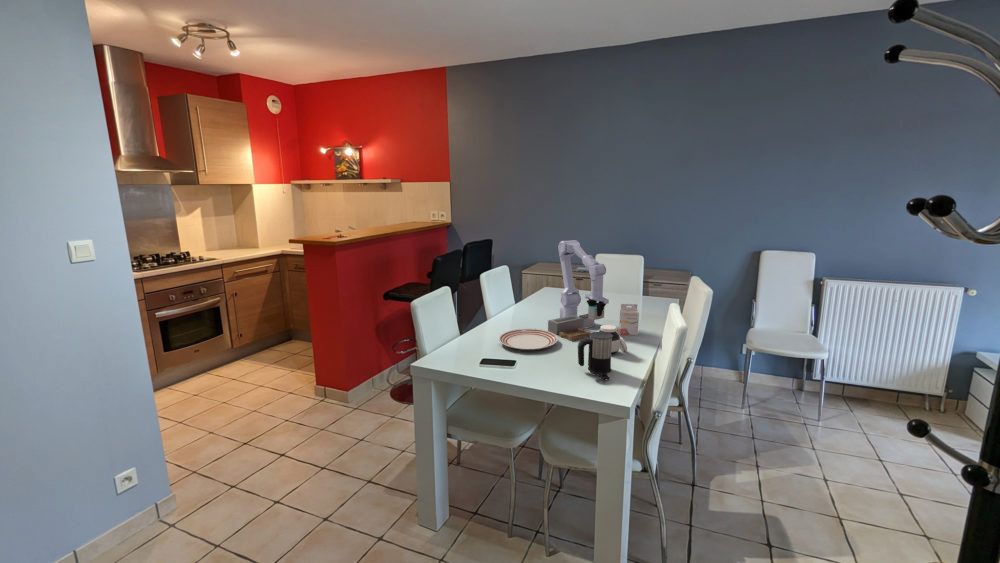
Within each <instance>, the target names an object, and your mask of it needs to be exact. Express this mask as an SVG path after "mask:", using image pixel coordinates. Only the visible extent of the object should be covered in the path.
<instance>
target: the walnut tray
mask: <svg viewBox="0 0 1000 563" xmlns="http://www.w3.org/2000/svg"><path fill="white" fill-rule="evenodd" d="M590 333H591V332H590V331H587V330H585V329H584V328H583V329H580V328H574V329H570V330H566V331H561V332H559V335H558V337H561V338H562V339H565V340H568V341H570V342H574V341H577V340H582V339H585V338H586V337H587V338H590V335H589V334H590Z"/></svg>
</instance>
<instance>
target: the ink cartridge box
mask: <svg viewBox="0 0 1000 563" xmlns="http://www.w3.org/2000/svg"><path fill="white" fill-rule="evenodd" d="M619 310H620V311H619V326H618V327H619V328H618V333H619V335H620V336H622V335H624V336H625V335H626V336H638V335H639V334H638V333H639V332H638V331H639V323H640V322H639V321H640V320H639V318H640V311H638V304H636V303H621V304H620V309H619Z"/></svg>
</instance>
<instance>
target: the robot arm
mask: <svg viewBox="0 0 1000 563" xmlns="http://www.w3.org/2000/svg"><path fill="white" fill-rule="evenodd" d="M557 247H558V248H557V249H558V250H557V251H558V255H559V260H560V266H561V273H562V279H563V286H564V289H563V290H562V291H561V292H560V303H561V306H560V307H559V318H562V317H567V316H572V315H575V316H578V307H579V305H580V303H581V301H582V297H581V295H580V291H579V290H578V288H576V287H575V281H574V275H573V269H572V268H573V267H572V261H571V258H572V257H573V256H574V255H576V256H577V257H578V258H580V259H581V260H582V261H581V263H582V264H583V265H584V266H585V268H587V270H588V273H589V275H590V277H589V279H590V294H588V293H587V294H584V298H585V299H586V303H587V305H588V307H590V306H595V305H596V306H597V316H601V315H602V312H603V309H604V310H605V307H606V306H607V304H609V302H610V301H609V300H610V299H609V298H606V297H604V293H603V292H604V290H603V289H604V276H605V275H606V272H607V268H606V265H605V264H604V263H600V262H599V261H597V260H596V258H594V257H593V255H592V254H587V253H586V252H585V251H584V249H583V248H582V247H581V243H580V242H579V241H578V240H577V239H574V240H561V241H560V242H559V243H558V246H557ZM587 299H588V300H587Z"/></svg>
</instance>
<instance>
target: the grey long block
mask: <svg viewBox="0 0 1000 563" xmlns="http://www.w3.org/2000/svg"><path fill="white" fill-rule="evenodd" d="M547 323H548V324H547V331H548V332H551V333H553V334H555V335H556V336H559V332H561V331H566V330H570V329H574V328H580V329H583V330H584V328H583V318H581V317H579V315H577V316H575V315H572V316H567V317H562V318H560V317H558V318H554V319H553V318H552V319H548V320H547Z"/></svg>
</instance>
